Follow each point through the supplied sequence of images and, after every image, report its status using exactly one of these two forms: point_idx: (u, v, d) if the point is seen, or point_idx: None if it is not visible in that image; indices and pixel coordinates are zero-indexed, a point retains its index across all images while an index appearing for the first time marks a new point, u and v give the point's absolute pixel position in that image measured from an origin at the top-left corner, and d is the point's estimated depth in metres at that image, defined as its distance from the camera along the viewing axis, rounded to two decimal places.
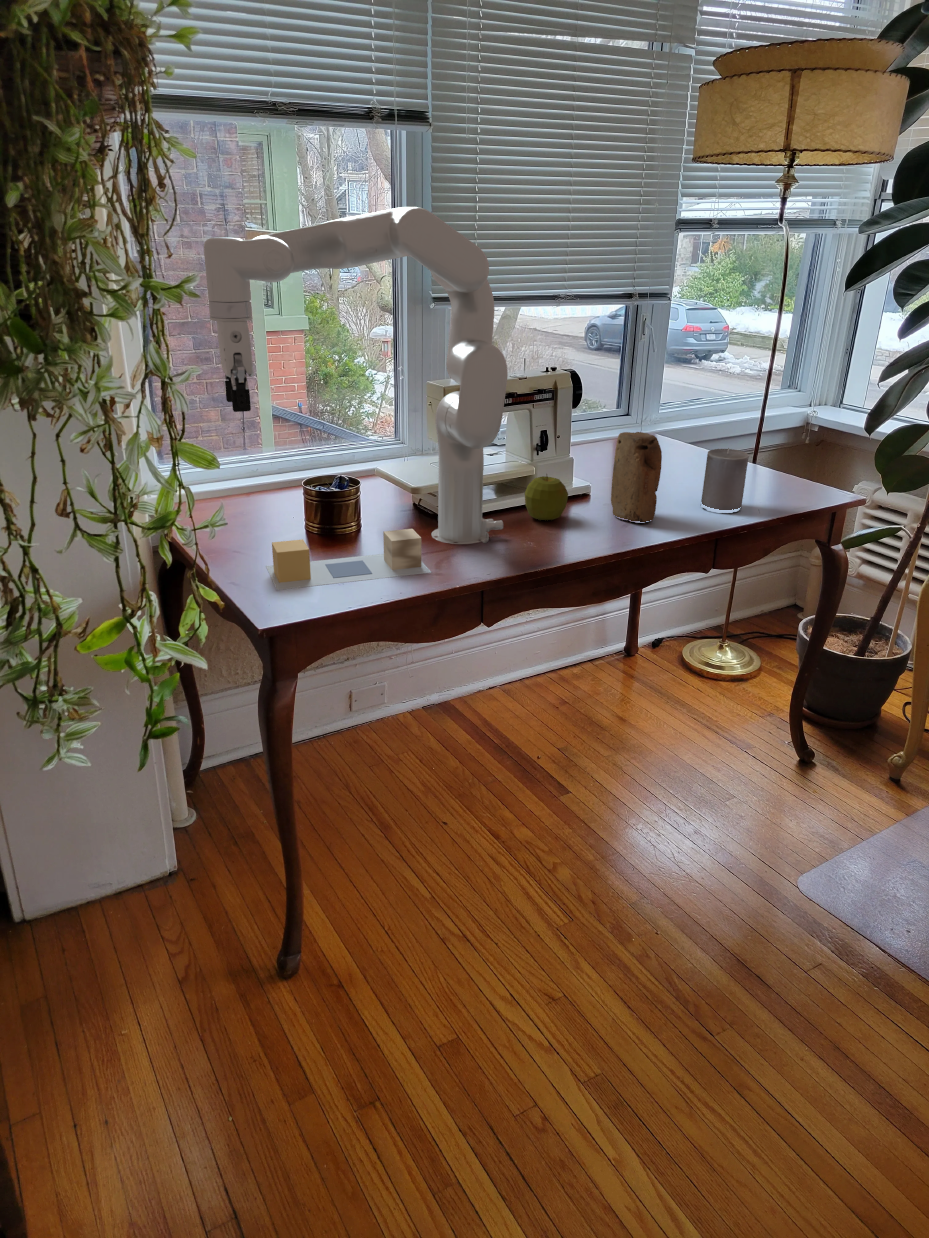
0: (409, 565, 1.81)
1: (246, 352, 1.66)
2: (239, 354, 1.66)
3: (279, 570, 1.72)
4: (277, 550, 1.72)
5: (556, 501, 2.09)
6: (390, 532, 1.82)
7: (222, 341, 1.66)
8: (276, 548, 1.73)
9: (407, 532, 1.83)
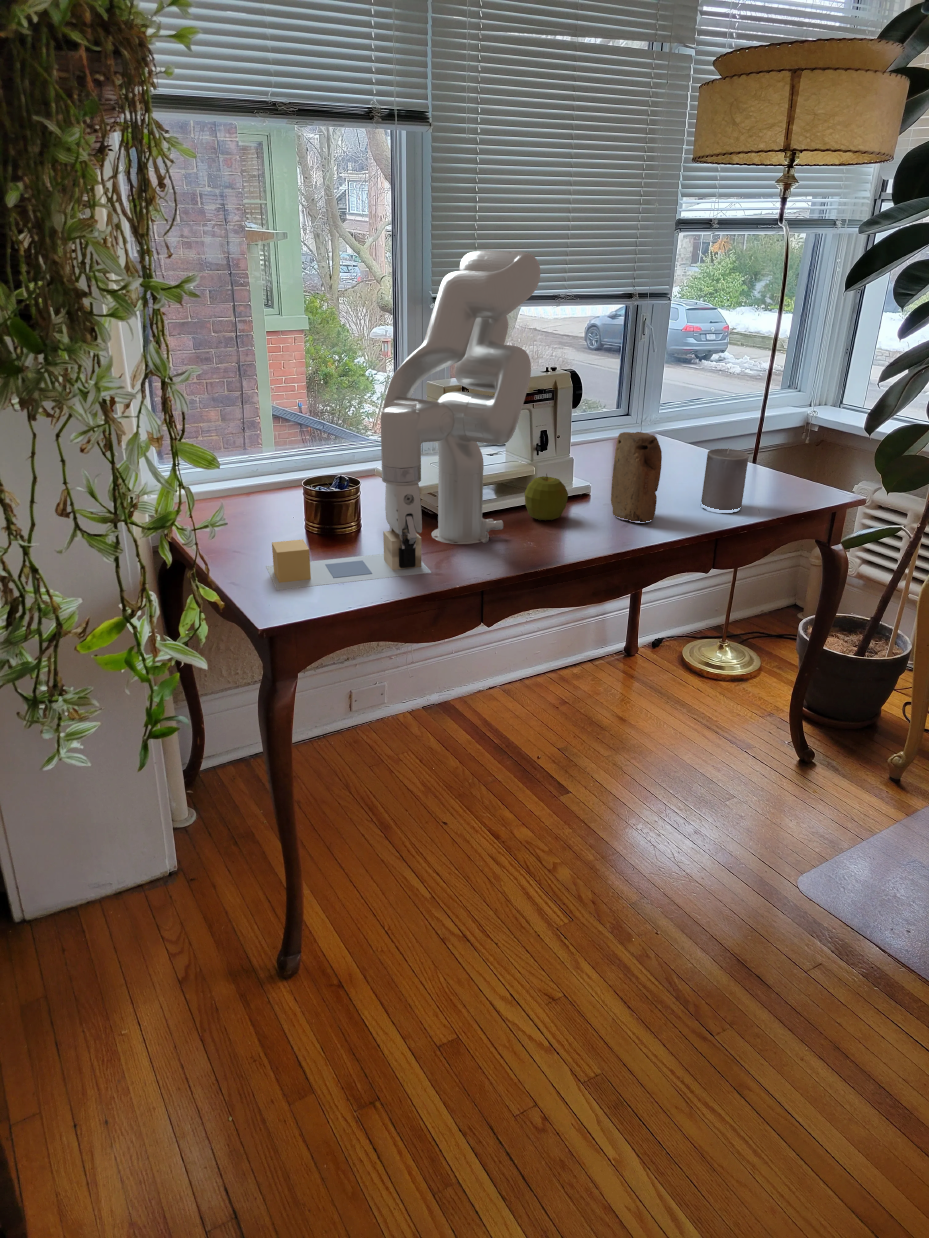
0: None
1: (417, 512, 1.75)
2: (410, 517, 1.75)
3: (279, 570, 1.72)
4: (277, 550, 1.72)
5: (556, 501, 2.09)
6: (390, 532, 1.82)
7: (395, 502, 1.75)
8: (276, 548, 1.73)
9: None
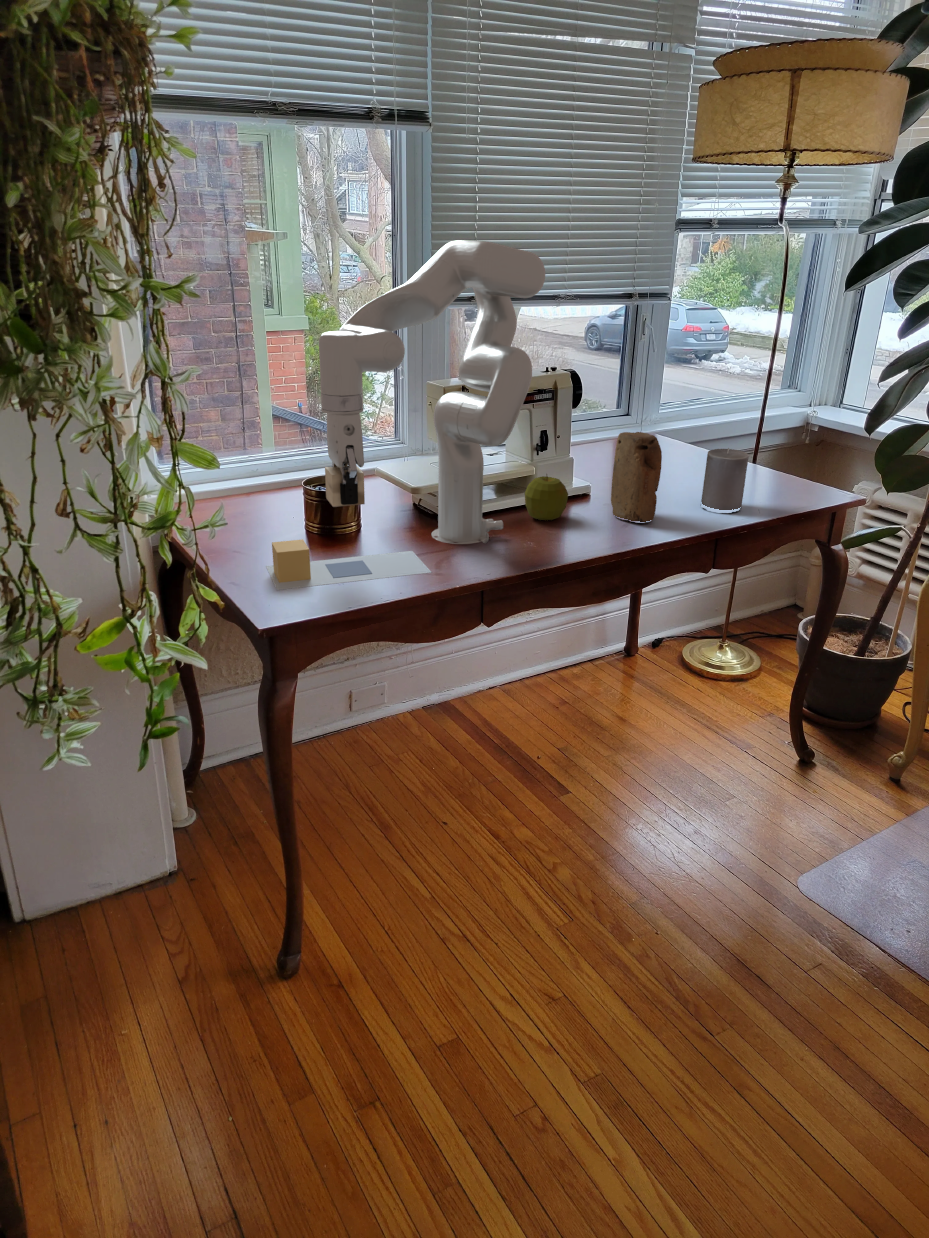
0: None
1: (358, 444, 1.66)
2: (351, 449, 1.66)
3: (279, 570, 1.72)
4: (277, 550, 1.72)
5: (556, 501, 2.09)
6: (332, 468, 1.73)
7: (334, 433, 1.66)
8: (276, 548, 1.73)
9: None
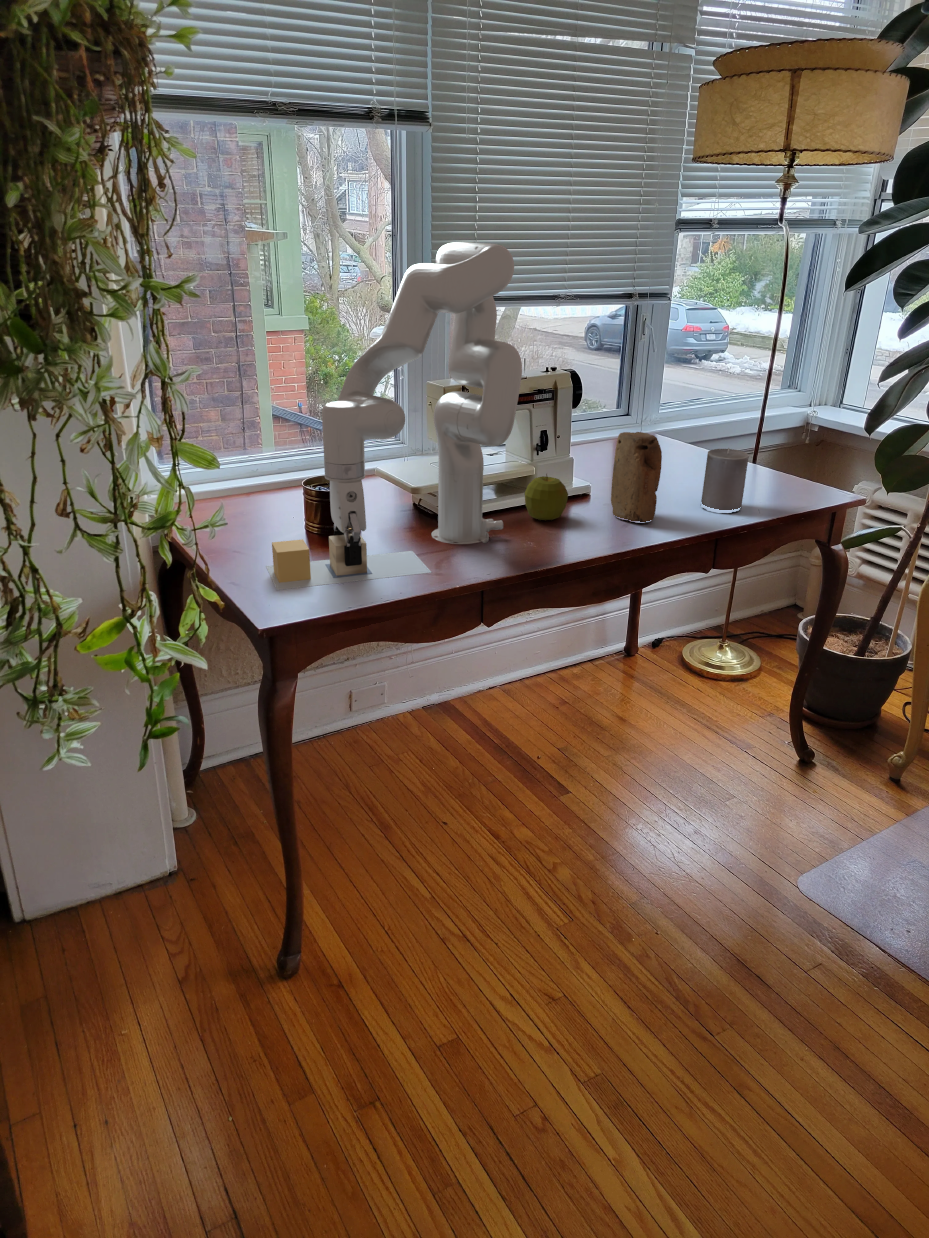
0: (354, 571, 1.78)
1: (360, 510, 1.71)
2: (354, 513, 1.71)
3: (279, 570, 1.72)
4: (277, 550, 1.72)
5: (556, 501, 2.09)
6: (335, 537, 1.79)
7: (337, 500, 1.71)
8: (276, 548, 1.73)
9: None
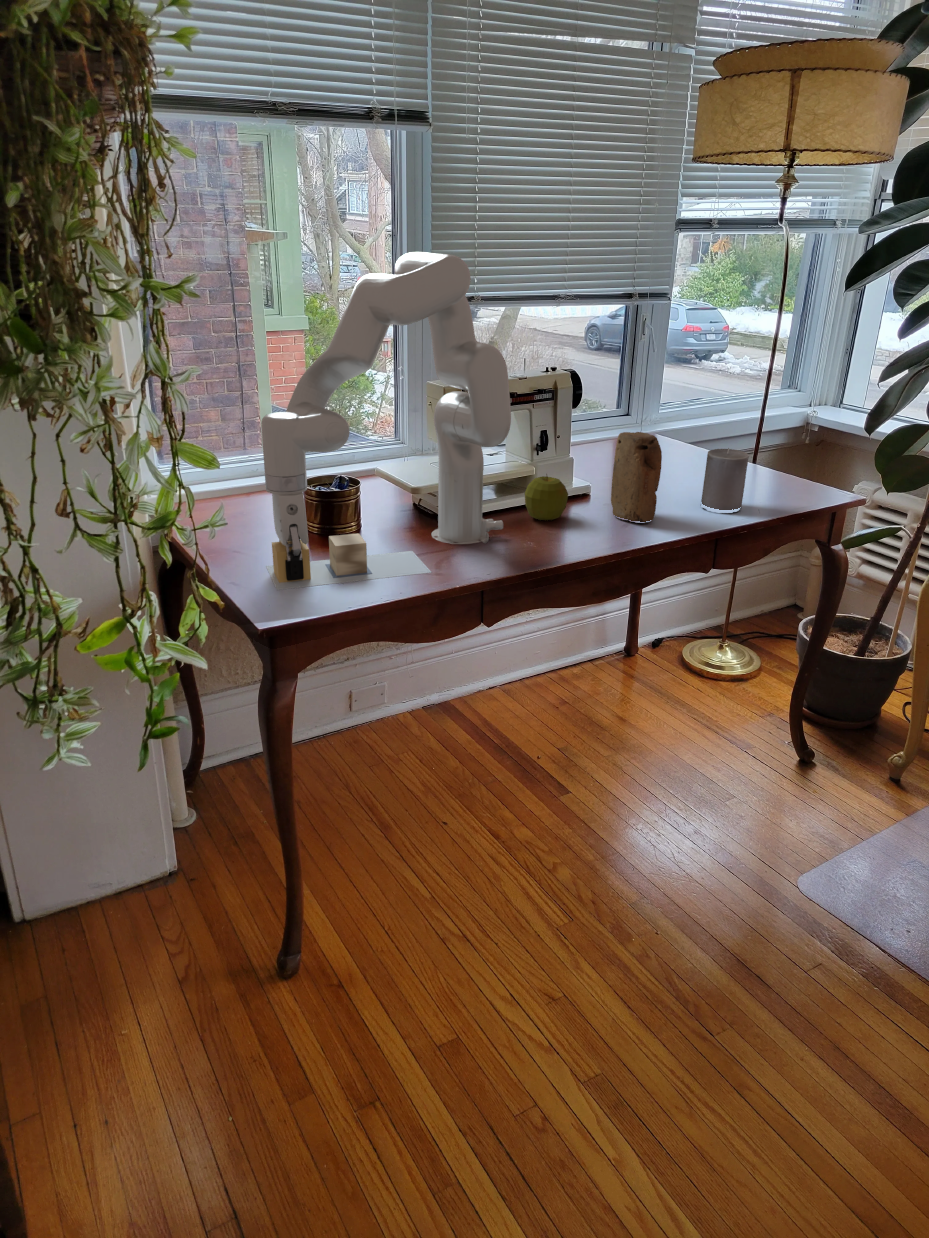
0: (354, 571, 1.78)
1: (302, 523, 1.68)
2: (295, 528, 1.68)
3: (279, 570, 1.72)
4: (277, 550, 1.72)
5: (556, 501, 2.09)
6: (335, 537, 1.79)
7: (278, 513, 1.68)
8: (276, 548, 1.73)
9: (353, 537, 1.79)
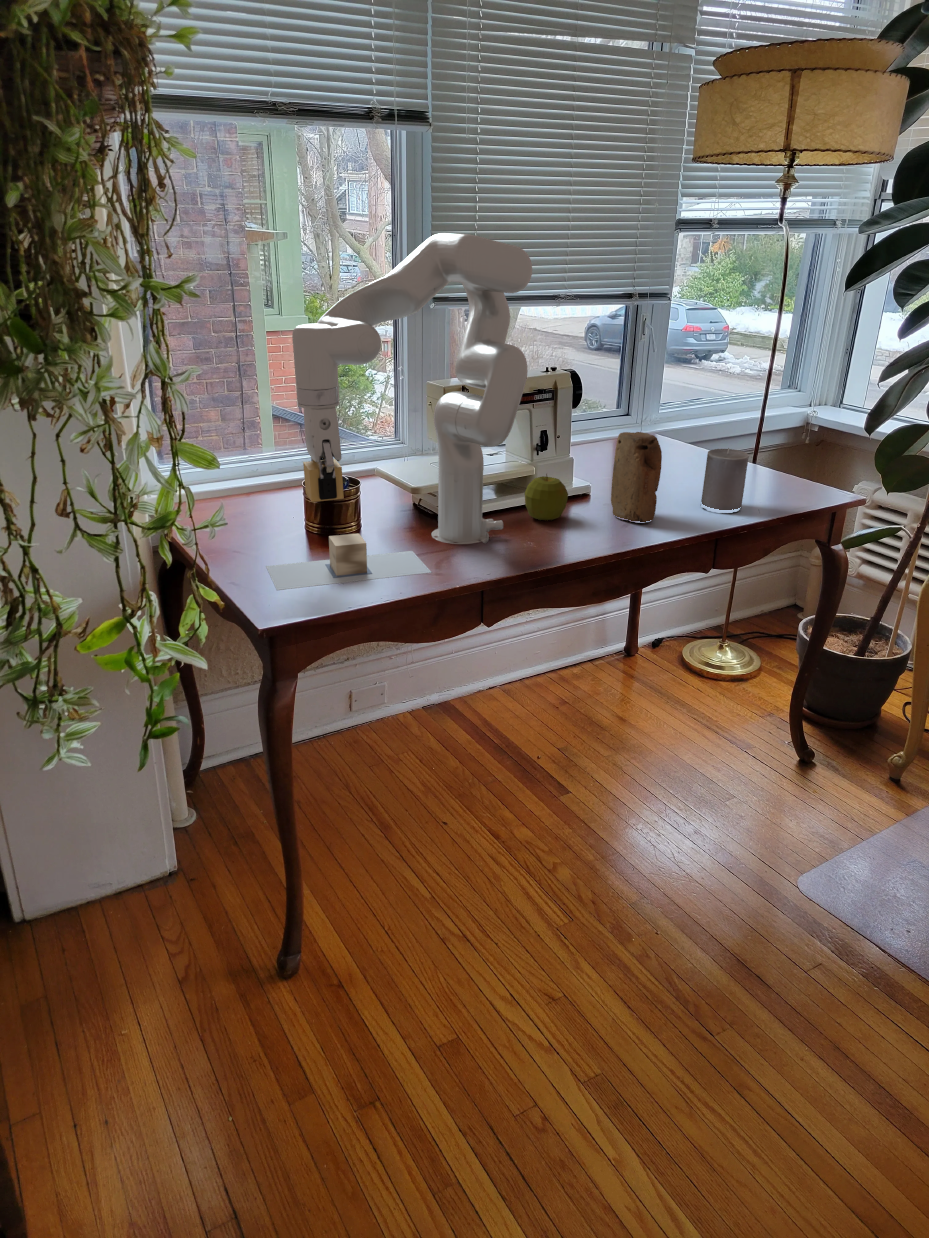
0: (354, 571, 1.78)
1: (335, 438, 1.64)
2: (328, 443, 1.64)
3: (311, 489, 1.69)
4: (309, 468, 1.68)
5: (556, 501, 2.09)
6: (335, 537, 1.79)
7: (310, 428, 1.64)
8: (308, 466, 1.69)
9: (353, 537, 1.79)
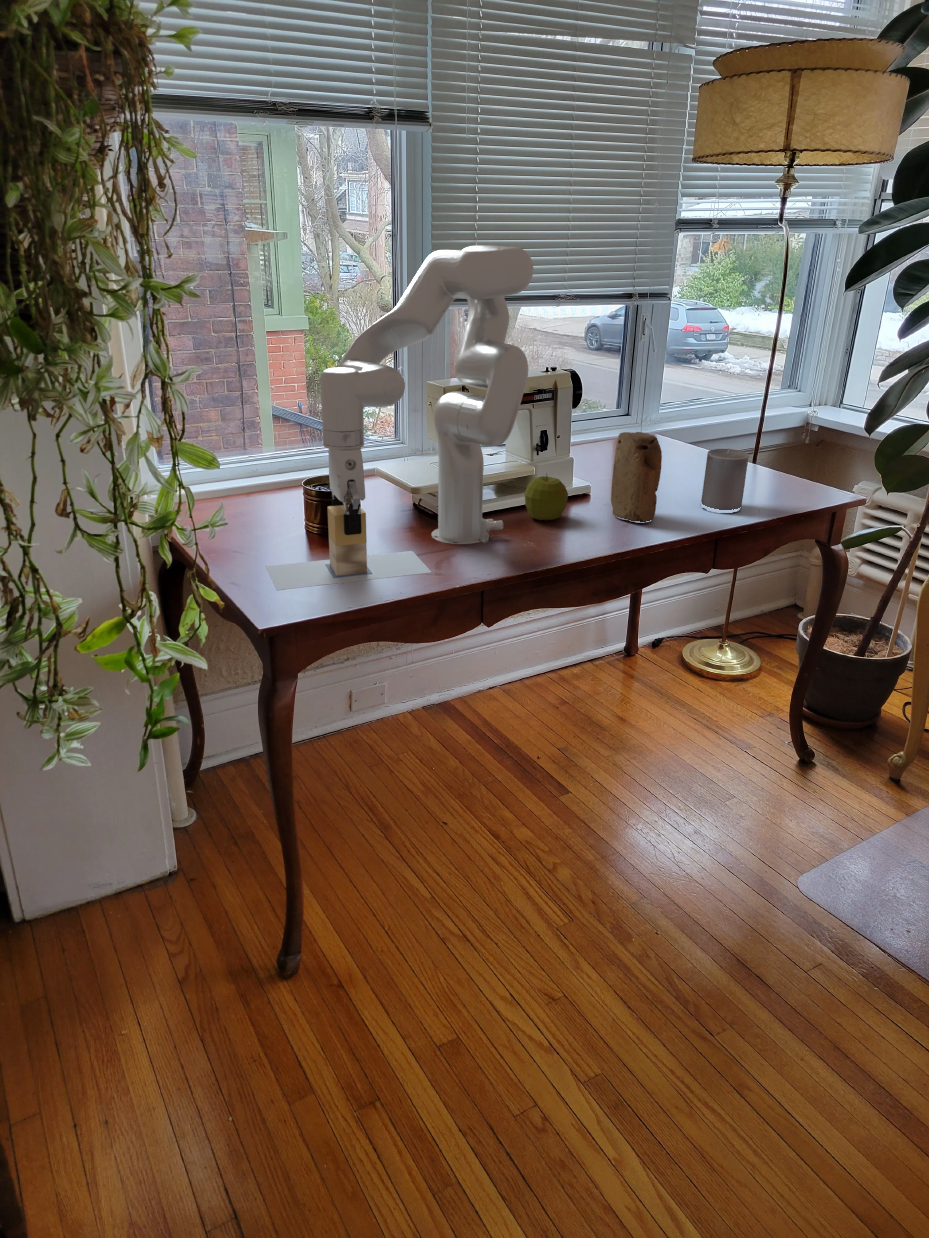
0: (354, 571, 1.78)
1: (359, 478, 1.69)
2: (353, 481, 1.68)
3: (336, 533, 1.73)
4: (334, 513, 1.73)
5: (556, 501, 2.09)
6: None
7: (336, 468, 1.68)
8: (333, 512, 1.74)
9: None
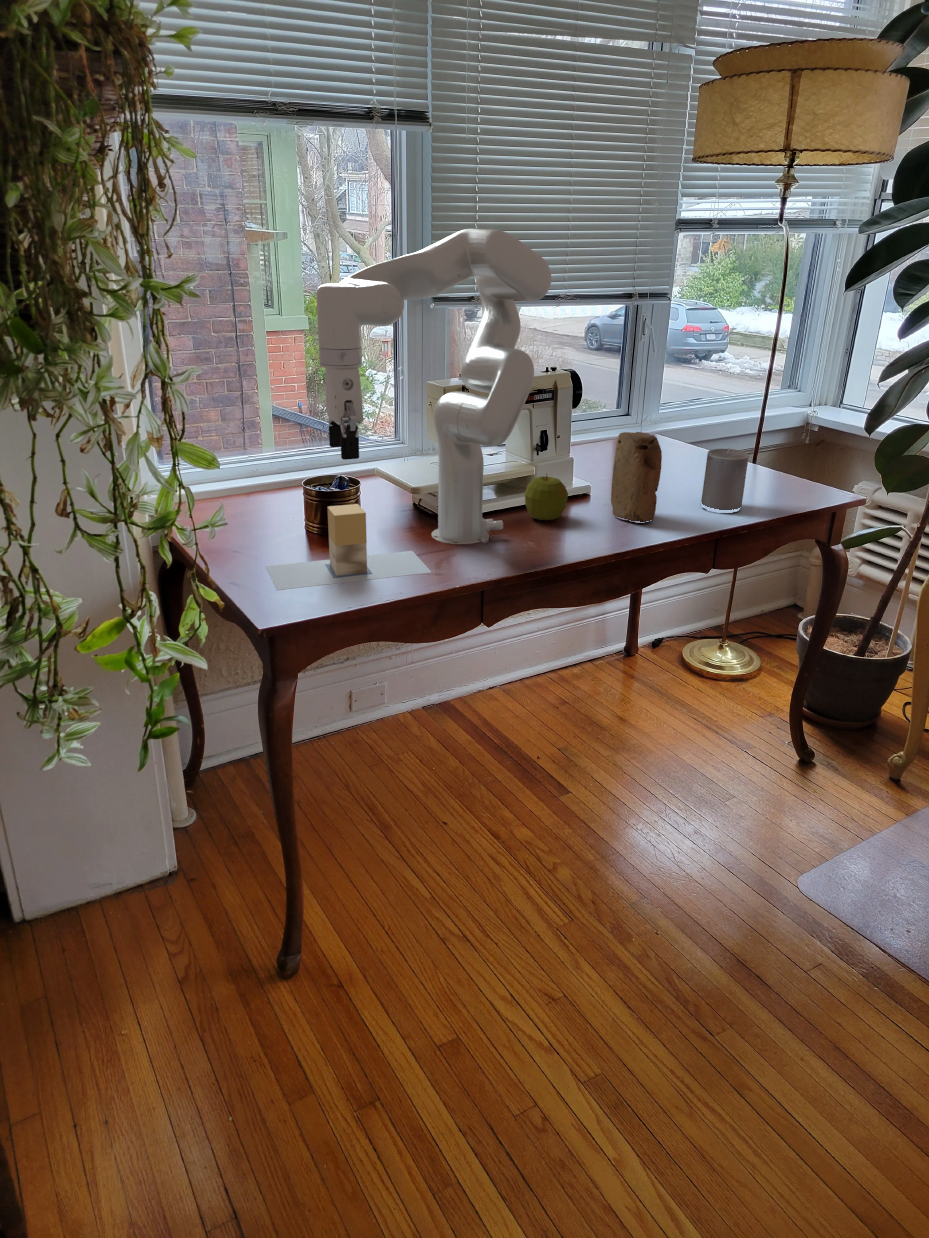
0: (354, 571, 1.78)
1: (357, 399, 1.63)
2: (350, 402, 1.63)
3: (336, 533, 1.73)
4: (334, 513, 1.73)
5: (556, 501, 2.09)
6: None
7: (333, 388, 1.62)
8: (333, 512, 1.74)
9: None
